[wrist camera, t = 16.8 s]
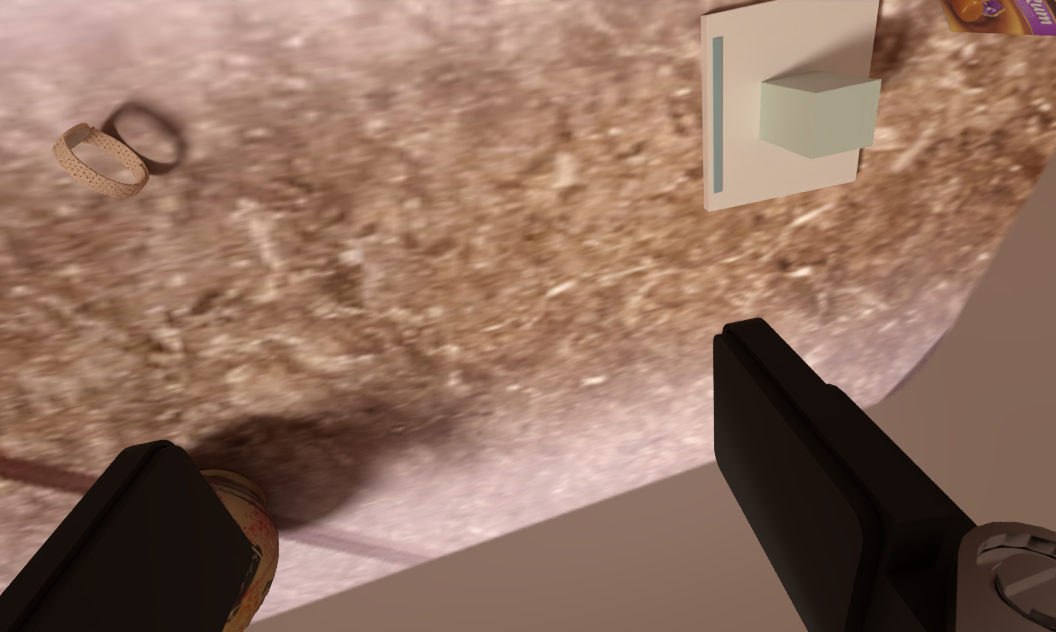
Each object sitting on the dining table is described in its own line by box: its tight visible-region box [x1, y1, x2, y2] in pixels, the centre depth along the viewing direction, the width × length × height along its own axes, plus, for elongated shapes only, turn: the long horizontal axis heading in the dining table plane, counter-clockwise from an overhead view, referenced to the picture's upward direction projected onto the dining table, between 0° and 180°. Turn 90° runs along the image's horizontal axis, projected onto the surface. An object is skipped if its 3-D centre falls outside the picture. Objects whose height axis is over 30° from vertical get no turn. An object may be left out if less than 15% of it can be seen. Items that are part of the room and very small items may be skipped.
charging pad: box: [701, 0, 879, 212], centre depth 39 cm, size 14×12×1 cm
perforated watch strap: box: [52, 123, 150, 198], centre depth 35 cm, size 3×5×5 cm, turn 39°
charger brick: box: [759, 71, 882, 159], centre depth 35 cm, size 4×4×7 cm
